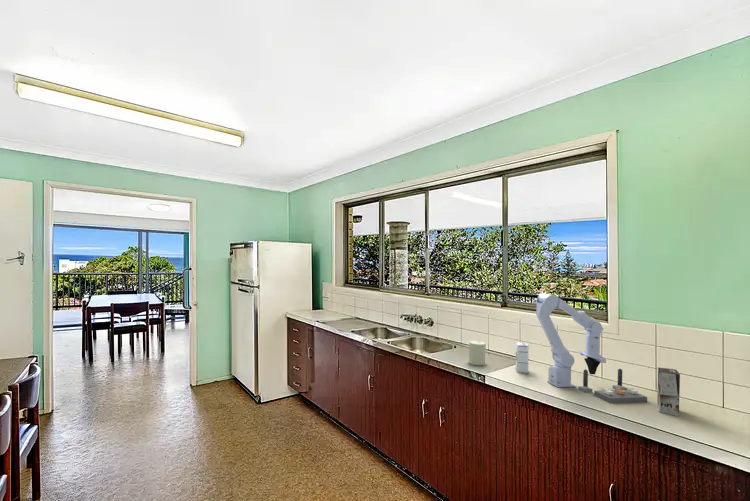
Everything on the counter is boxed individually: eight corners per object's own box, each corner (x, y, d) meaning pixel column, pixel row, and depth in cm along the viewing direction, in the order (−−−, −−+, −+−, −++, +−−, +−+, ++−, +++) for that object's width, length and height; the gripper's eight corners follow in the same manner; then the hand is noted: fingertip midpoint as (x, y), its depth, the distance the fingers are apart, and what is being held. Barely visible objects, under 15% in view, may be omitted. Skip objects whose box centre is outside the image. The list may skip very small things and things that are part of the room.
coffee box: (679, 416, 146) (680, 374, 147) (659, 412, 150) (659, 371, 150) (676, 409, 154) (677, 369, 154) (656, 405, 158) (657, 366, 158)
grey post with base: (619, 391, 173) (619, 370, 174) (612, 388, 177) (612, 367, 177) (627, 391, 174) (627, 370, 174) (620, 388, 178) (620, 367, 178)
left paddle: (608, 394, 162) (608, 391, 162) (602, 392, 165) (603, 388, 165) (613, 394, 162) (613, 390, 162) (607, 392, 165) (607, 388, 165)
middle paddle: (620, 394, 163) (620, 390, 163) (614, 391, 166) (615, 388, 166) (625, 394, 163) (625, 390, 163) (619, 391, 166) (619, 388, 166)
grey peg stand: (584, 392, 170) (584, 370, 170) (578, 389, 174) (578, 368, 174) (592, 392, 171) (592, 370, 171) (586, 389, 175) (586, 368, 175)
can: (487, 362, 215) (488, 341, 215) (482, 366, 207) (483, 344, 208) (471, 359, 220) (472, 339, 220) (466, 363, 212) (466, 341, 212)
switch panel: (610, 403, 158) (610, 398, 158) (594, 395, 167) (594, 390, 167) (647, 401, 161) (647, 396, 161) (629, 394, 170) (629, 389, 170)
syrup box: (528, 373, 198) (529, 345, 198) (516, 371, 199) (517, 344, 199) (526, 369, 203) (527, 342, 203) (515, 368, 204) (515, 342, 205)
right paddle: (632, 394, 164) (633, 390, 164) (626, 391, 167) (626, 387, 167) (637, 393, 164) (637, 390, 164) (631, 391, 167) (631, 387, 167)
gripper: (612, 349, 175) (611, 378, 174) (589, 342, 189) (588, 369, 189) (598, 349, 173) (597, 379, 173) (576, 342, 188) (576, 369, 187)
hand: (592, 374), depth 181 cm, fingers closed
